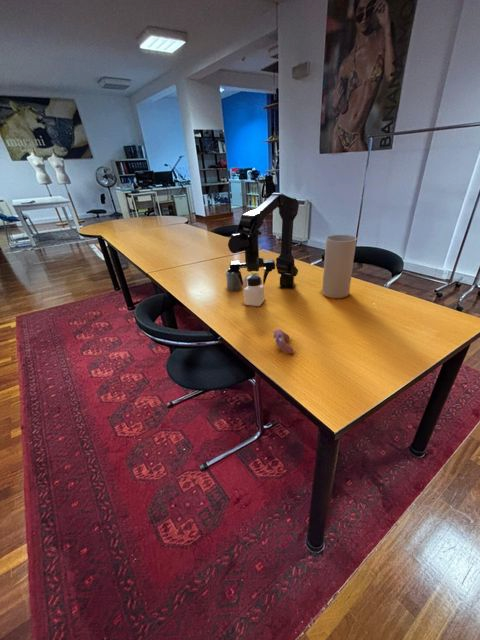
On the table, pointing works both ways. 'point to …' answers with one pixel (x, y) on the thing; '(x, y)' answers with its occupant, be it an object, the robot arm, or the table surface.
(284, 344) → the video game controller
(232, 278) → the glazed cup
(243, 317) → the table surface
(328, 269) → the cylinder vase
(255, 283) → the medicine bottle
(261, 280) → the decorative fruit
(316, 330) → the table surface
